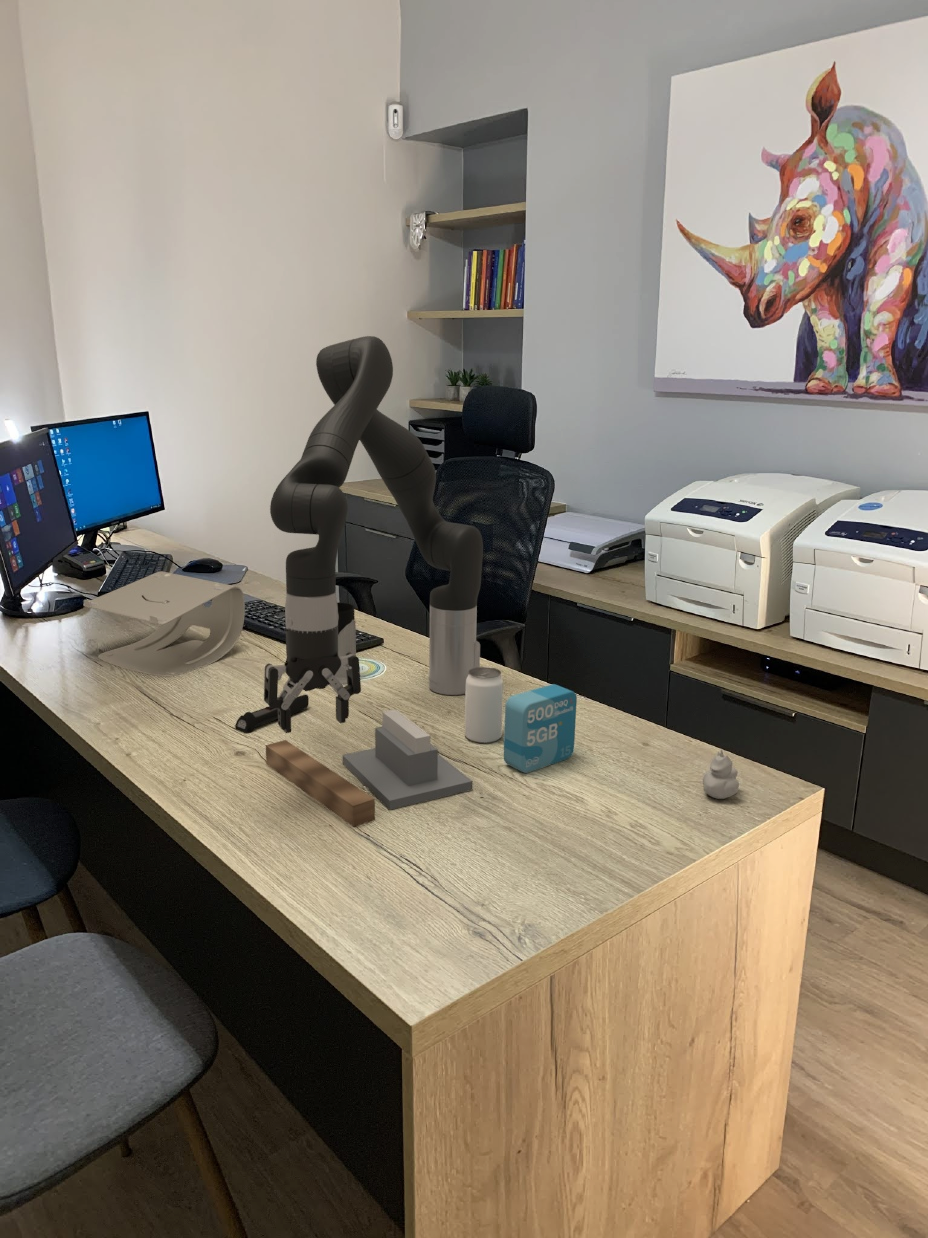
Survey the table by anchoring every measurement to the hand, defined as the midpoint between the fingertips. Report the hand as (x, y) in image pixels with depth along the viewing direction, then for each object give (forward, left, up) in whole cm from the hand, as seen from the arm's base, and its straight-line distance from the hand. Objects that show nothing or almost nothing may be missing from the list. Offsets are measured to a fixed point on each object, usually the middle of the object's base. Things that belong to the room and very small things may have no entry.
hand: (313, 726), depth 137 cm
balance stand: (-14, +2, -10) cm, 18 cm away
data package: (-36, +7, -11) cm, 38 cm away
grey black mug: (-20, -48, -11) cm, 53 cm away
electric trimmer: (-3, -30, -11) cm, 32 cm away
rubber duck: (-54, +30, -11) cm, 63 cm away
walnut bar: (0, 0, -11) cm, 11 cm away
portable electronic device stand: (+5, -76, -11) cm, 77 cm away
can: (-33, -6, -11) cm, 35 cm away
